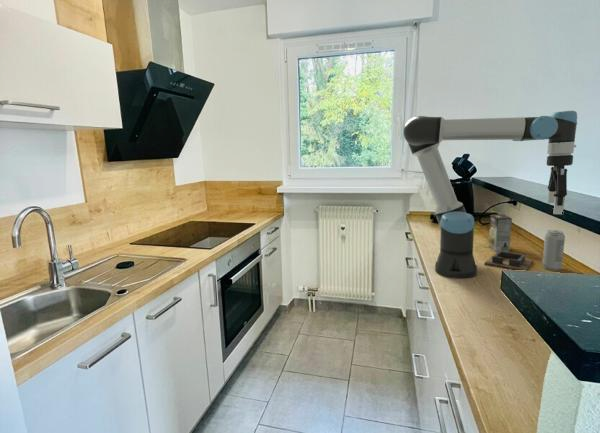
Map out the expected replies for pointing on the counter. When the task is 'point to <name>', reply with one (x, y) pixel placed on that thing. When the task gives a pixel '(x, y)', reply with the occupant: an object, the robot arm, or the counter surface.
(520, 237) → the counter surface
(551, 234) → the energy drink can
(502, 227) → the coffee box
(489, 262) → the socket board
